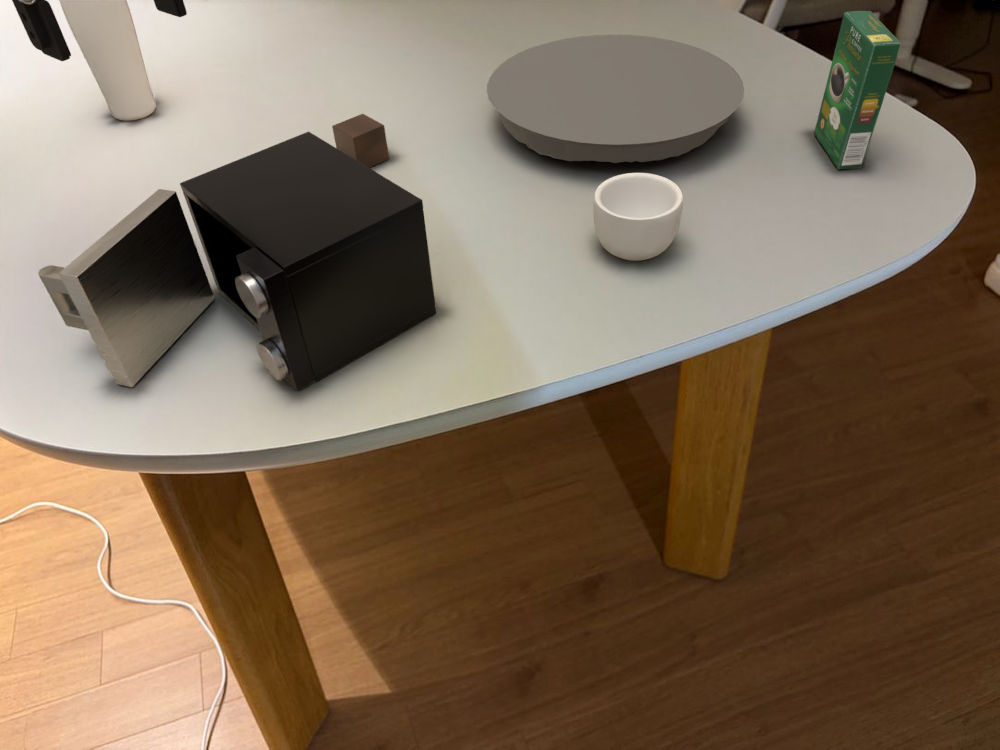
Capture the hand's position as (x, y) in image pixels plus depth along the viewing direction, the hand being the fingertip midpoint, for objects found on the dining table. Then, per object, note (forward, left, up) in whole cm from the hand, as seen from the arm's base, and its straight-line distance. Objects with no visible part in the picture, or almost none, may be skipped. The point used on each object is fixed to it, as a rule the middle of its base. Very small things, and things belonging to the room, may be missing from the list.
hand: (117, 33), depth 60 cm
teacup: (+31, -26, -21) cm, 46 cm away
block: (+22, +5, -21) cm, 31 cm away
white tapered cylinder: (+9, +36, -21) cm, 43 cm away
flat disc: (+47, -8, -21) cm, 52 cm away
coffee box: (+58, -30, -21) cm, 69 cm away
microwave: (+4, -13, -21) cm, 25 cm away
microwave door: (-8, -5, -21) cm, 23 cm away
